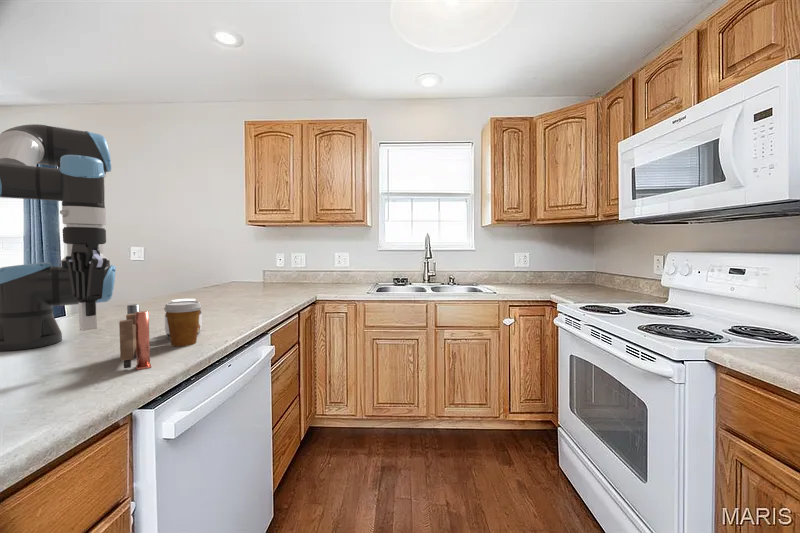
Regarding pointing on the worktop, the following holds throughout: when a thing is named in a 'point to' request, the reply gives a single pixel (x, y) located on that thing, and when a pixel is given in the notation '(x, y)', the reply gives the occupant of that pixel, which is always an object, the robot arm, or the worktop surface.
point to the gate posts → (141, 336)
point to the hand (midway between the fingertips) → (88, 329)
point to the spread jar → (198, 323)
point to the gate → (127, 339)
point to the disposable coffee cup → (183, 321)
